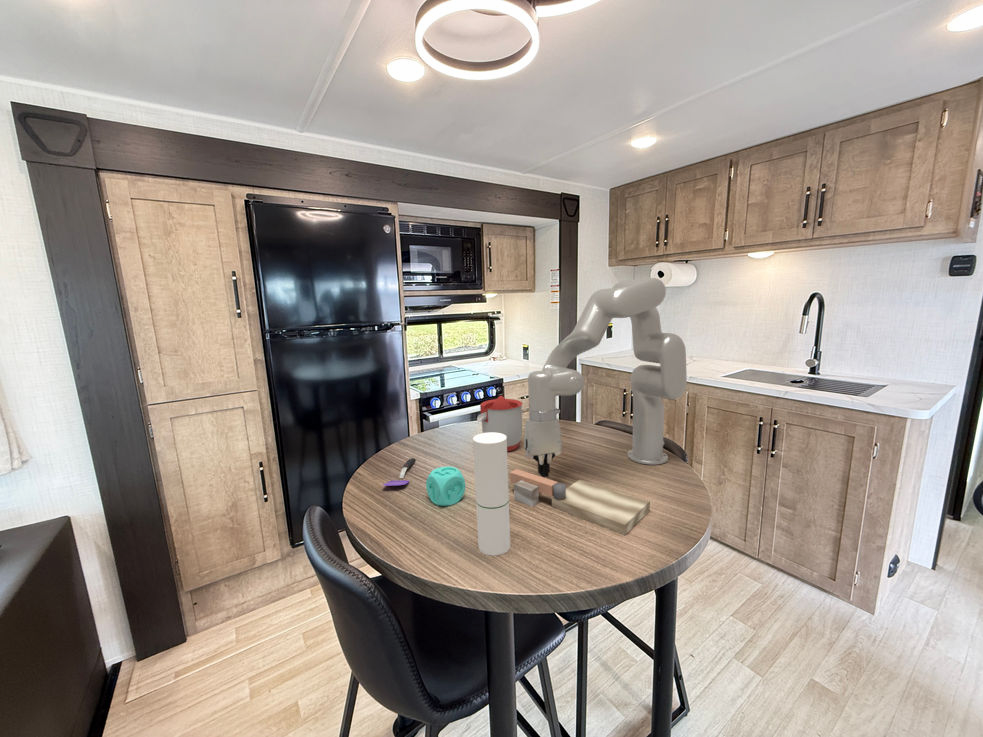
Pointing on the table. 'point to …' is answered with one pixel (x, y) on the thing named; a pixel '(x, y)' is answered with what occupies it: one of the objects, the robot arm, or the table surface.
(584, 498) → the stool seat
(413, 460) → the spatula
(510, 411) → the citrus juicer
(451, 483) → the decorative dice
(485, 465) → the cylindrical container
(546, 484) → the stool leg
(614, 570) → the table surface
